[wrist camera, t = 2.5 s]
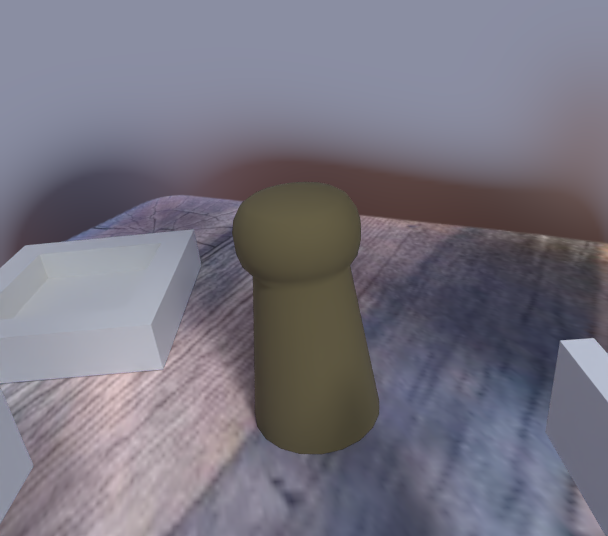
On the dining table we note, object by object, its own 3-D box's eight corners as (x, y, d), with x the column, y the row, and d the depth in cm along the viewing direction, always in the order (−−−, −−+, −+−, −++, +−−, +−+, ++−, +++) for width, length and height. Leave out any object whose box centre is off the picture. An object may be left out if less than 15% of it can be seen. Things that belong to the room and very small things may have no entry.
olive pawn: (252, 461, 23) (205, 229, 18) (257, 373, 28) (222, 176, 23) (390, 446, 23) (382, 210, 18) (369, 361, 28) (358, 161, 23)
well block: (201, 264, 41) (193, 229, 40) (163, 369, 30) (151, 324, 28) (38, 279, 42) (25, 245, 40) (-63, 388, 30) (-85, 345, 29)
